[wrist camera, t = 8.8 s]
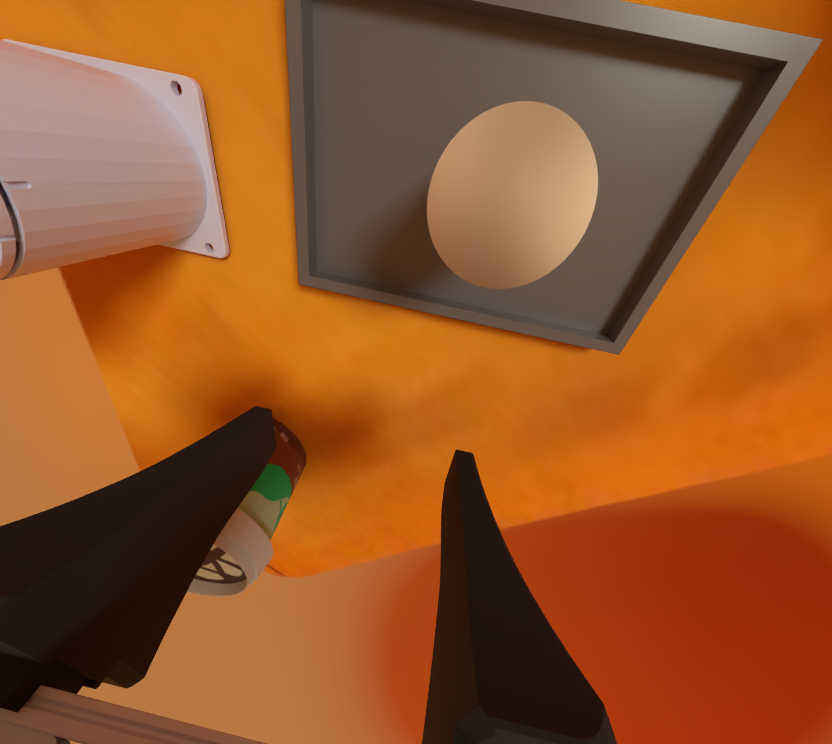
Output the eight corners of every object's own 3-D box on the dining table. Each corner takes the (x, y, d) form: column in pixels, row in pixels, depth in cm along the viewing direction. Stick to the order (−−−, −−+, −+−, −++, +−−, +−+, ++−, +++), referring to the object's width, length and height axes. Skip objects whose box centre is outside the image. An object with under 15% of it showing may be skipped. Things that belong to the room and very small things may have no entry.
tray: (312, 275, 18) (298, 284, 17) (305, -35, 12) (281, -65, 10) (606, 339, 18) (618, 354, 16) (775, 57, 11) (822, 39, 10)
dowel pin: (441, 232, 15) (419, 278, 9) (454, 131, 13) (438, 92, 6) (521, 242, 15) (561, 298, 8) (549, 141, 13) (632, 110, 6)
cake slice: (306, 501, 32) (250, 614, 24) (250, 481, 32) (173, 590, 23) (330, 426, 25) (264, 548, 17) (260, 399, 25) (156, 511, 17)
